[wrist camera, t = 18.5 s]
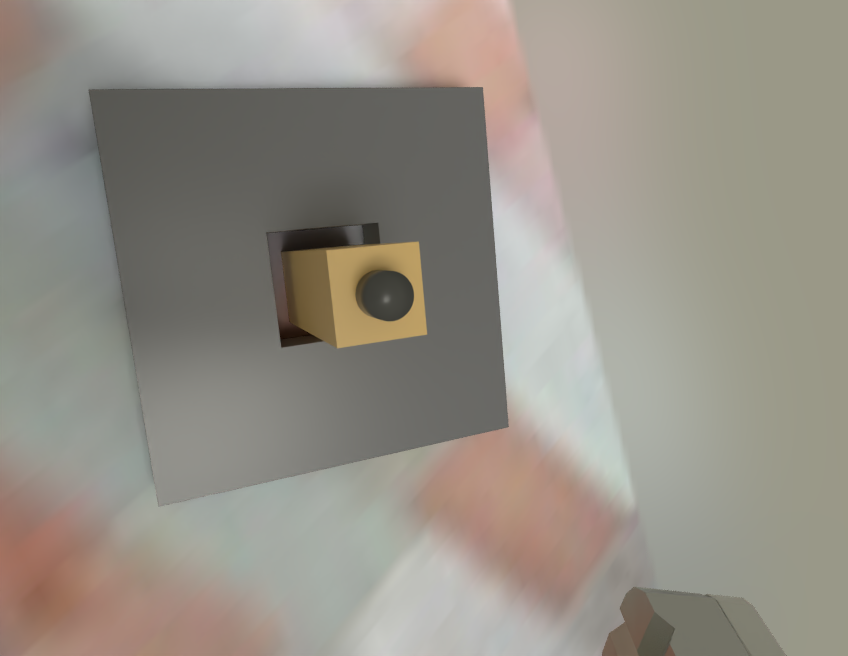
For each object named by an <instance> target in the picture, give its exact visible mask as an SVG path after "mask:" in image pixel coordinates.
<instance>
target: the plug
mask: <svg viewBox="0 0 848 656" xmlns="http://www.w3.org/2000/svg"><path fill="white" fill-rule="evenodd" d="M281 256H282V265H283V273H284V281H285V289H286V297H287V305H288V313H289V322H290V323H292V324H294V325H296V326H298V327H299V328H301V329H303V330H305V331H307V332H308V333H310V334H312V335H314V336H316V337H317V338H319V339H321V340H323V341H325V342H327V343H328V344H330V345H332V346H334V347H336V348H343V347H349V346H356V345H362V344H369V343H375V342H382V341H388V340H395V339H401V338H408V337H414V336H421V335H427V327H426V316H425V305H424V293H423V282H422V271H421V260H420V249H419V242H401V243H383V244H365V245H348V246H338V247H327V248H316V249H306V250H295V251H285V252H281Z"/></svg>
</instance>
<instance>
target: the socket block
mask: <svg viewBox="0 0 848 656" xmlns="http://www.w3.org/2000/svg"><path fill="white" fill-rule="evenodd" d="M89 94H90V100H91V106H92V112H93V118H94V124H95V130H96V136H97V142H98V148H99V154H100V160H101V166H102V172H103V178H104V184H105V190H106V196H107V202H108V208H109V214H110V220H111V226H112V232H113V238H114V244H115V250H116V256H117V262H118V268H119V274H120V280H121V286H122V292H123V298H124V304H125V310H126V316H127V322H128V328H129V334H130V340H131V346H132V352H133V358H134V364H135V370H136V376H137V382H138V388H139V394H140V400H141V406H142V412H143V418H144V424H145V430H146V436H147V442H148V448H149V454H150V460H151V466H152V472H153V478H154V484H155V490H156V496H157V501H158V507H160V506H164V505H169V504H173V503H177V502H182V501H186V500H190V499H195V498H199V497H204V496H208V495H212V494H217V493H221V492H226V491H230V490H234V489H239V488H243V487H248V486H252V485H256V484H261V483H265V482H269V481H274V480H278V479H283V478H287V477H291V476H296V475H300V474H305V473H309V472H313V471H318V470H322V469H327V468H331V467H335V466H340V465H344V464H349V463H353V462H357V461H362V460H366V459H370V458H375V457H379V456H384V455H388V454H392V453H397V452H401V451H406V450H410V449H414V448H419V447H423V446H428V445H432V444H436V443H441V442H445V441H450V440H454V439H458V438H463V437H467V436H471V435H476V434H480V433H485V432H489V431H493V430H498V429H502V428H507V427H509V426H508V413H507V400H506V386H505V373H504V360H503V347H502V334H501V321H500V308H499V294H498V281H497V268H496V255H495V242H494V229H493V215H492V202H491V189H490V176H489V163H488V150H487V137H486V123H485V110H484V97H483V87H450V88H279V89H108V90H89ZM357 225H363V235H364V244H383V243H401V242H419V249H420V260H421V271H422V282H423V293H424V305H425V316H426V327H427V335H421V336H414V337H408V338H401V339H395V340H388V341H382V342H375V343H369V344H362V345H356V346H349V347H343V348H336V347H334V346H332V345H330V344H328V343H327V342H325V341H323V340H321V339H319V338H317V337H316V336H314V335H308V336H301V337H294V338H288V339H281V340H280V334H279V327H278V319H277V311H276V304H275V296H274V288H273V281H272V273H271V265H270V258H269V250H268V242H267V235H266V233H277V232H288V231H299V230H311V229H322V228H334V227H345V226H357Z"/></svg>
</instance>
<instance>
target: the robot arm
mask: <svg viewBox="0 0 848 656" xmlns="http://www.w3.org/2000/svg"><path fill="white" fill-rule="evenodd" d="M620 610H621V613H622V615H623V618H624V620H625V622H624V623H623V624H621V625H620V626H619V627H617V628H616V629H614V630H613V631H611V632H610V633H609V635H608V638H607V641H606V643H605V646H604V649H603V652H602V656H786V654H785V653H784V651H783V650H782V648H781V647H780V645H779V644H778V642H777V641H776V639H775V638H774V636H773V635H772V633H771V632H770V630H769V629H768V627H767V626H766V625H765V623H764V621H763V620H762V618H761V617H760V615H759V614H758V612H757V611H756V609H755V608H754V607H753V605H751V604H750V603H749V602H748V601H746V600H745V599H744V598H740V597H730V596H720V595H710V594H706V595H702V594H696V593H688V592H679V591H669V590H660V589H651V588H642V587H633V588H632V589H631V590H630V591H629V592H627V593H626V595H625V597H624V599H623V602H622V604H621V606H620Z"/></svg>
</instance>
